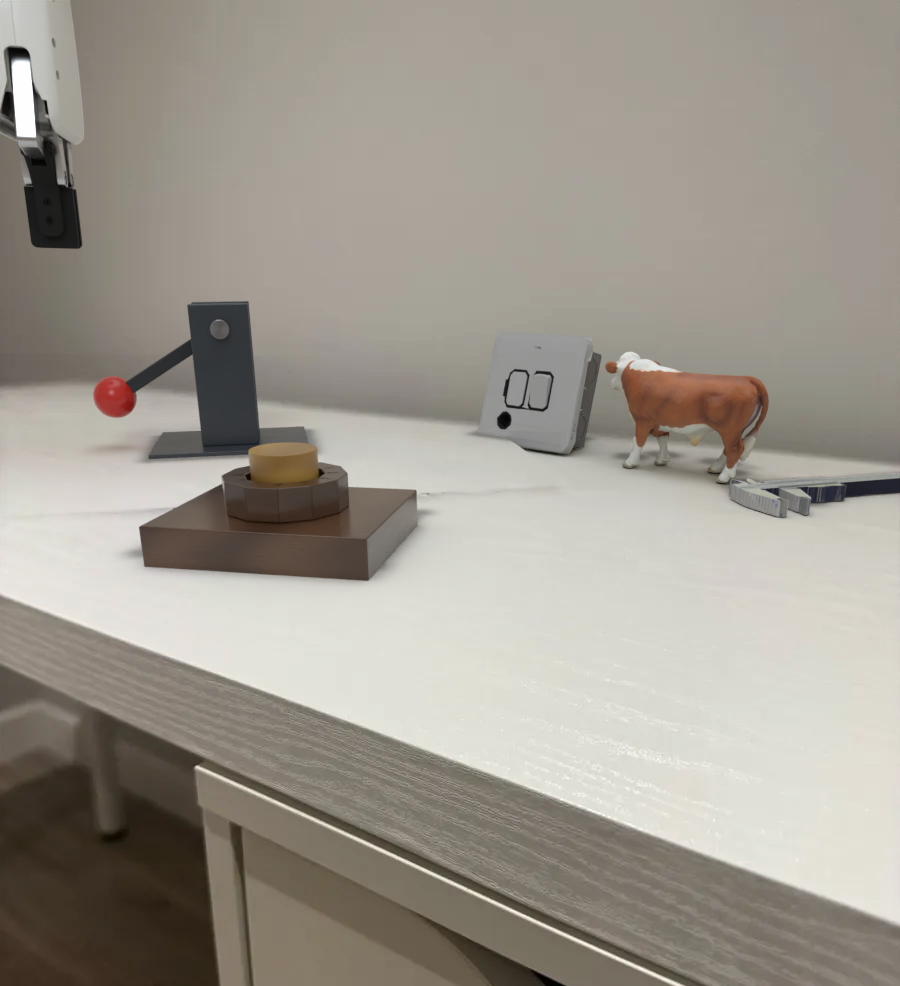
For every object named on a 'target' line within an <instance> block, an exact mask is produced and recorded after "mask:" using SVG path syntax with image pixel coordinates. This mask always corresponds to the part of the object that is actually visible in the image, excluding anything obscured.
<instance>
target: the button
mask: <svg viewBox="0 0 900 986" xmlns="http://www.w3.org/2000/svg"><path fill="white" fill-rule="evenodd" d="M248 453H249V455H248V462H249V463H248V464H249V466H250V475H251V481H254V482H258V483H291V482H302V481H307V480H311V479H316V478H319V467H318V462H319V453H318V447H317V446H316V445H314V444H311V443H308V444H307V443H295V442H286V443H271V444H264V445H259V446H255V447H253V448H251V449H249V451H248Z"/></svg>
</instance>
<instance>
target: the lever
mask: <svg viewBox="0 0 900 986" xmlns="http://www.w3.org/2000/svg"><path fill="white" fill-rule="evenodd" d="M191 356H193V354H192V345H191V338H190V339H187V340H186V341H185V342H183V343H182V344H181V345H179V346H178V347H176V348H175V349H173V350H171V351H170V352H168V353H167V354H165V355H164V356H162V357H161V358H159V359H158V360H156V361H154V362H153V363H152V364H150V365H149V366H147V367H146V368H143V370H141V371H139V372H138V373H137V374H135V375H134V376H132V377H131V378H129V379H125V378H124V377H121V376H118V375H117V376H116V375H110V376H105V377H103V378H101V379H100V380H99V381H98V382H97V383H96V384H95V386H94V389H93V392H92V397H93V398H92V399H93V402H94V405H95V407H96V408H97V409H98V411H99V412H100V413H102V414H103V415H105V416H107V417H109V418H112V419H119V418H120V419H121V418H124V417H126V416H128V415H130V414H131V413H132V412H133V411H134V410H135V408H136V406H137V401H138V396H137V392H138V391H139V390H141V389H143V388H144V387H146V386H147V385H149V384H151V382H153V381H155V380H156V379H158V378H159V377H161V376H162V375H164V374H166V373H167V372H169V371H170V370H171V369H174V367H177V365H179V364H181V363H182V362H184V361H185V360H187V359H188V358H189V357H191Z"/></svg>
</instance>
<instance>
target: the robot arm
mask: <svg viewBox="0 0 900 986" xmlns="http://www.w3.org/2000/svg"><path fill="white" fill-rule="evenodd" d="M78 58H79V57H78V50H77V43H76V34H75V22H74V19H73V12H72V4H71V0H0V135H2V136H4V137H6V138H8V139H9V140H12V141H14V142H16V145H17V152H18V156H19V163H20V168H21V174H22V180H23V183H24V185H23V192H24V199H25V200H24V201H25V207H26V214H27V222H28V229H29V237H30V243H31V245H32V246H33V247H34V248H40V249H64V250H65V249H67V250H68V249H69V250H79V249H81V248H82V247H83V239H82V237H83V236H82V228H81V219H80V210H79V201H78V194H77V189H76V188H75V174H74V163H73V152H72V145H73V146H78V145H80V144H81V143H82V142H83V141H84V139H85V119H84V106H83V95H82V86H81V85H82V84H81V76H80V68H79V60H78Z"/></svg>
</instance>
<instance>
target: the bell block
mask: <svg viewBox="0 0 900 986" xmlns="http://www.w3.org/2000/svg"><path fill="white" fill-rule="evenodd" d="M318 467H319V478H316V479H311V480H307V481H302V482H291V483H258V482H254V481H251V475H250V465H246V466H241V467H236V468H233V469H231V470H229V471H228V472H226V473H224V474H222V475H221V483H220V484H218V485H217V486H215V487H213V488H210V489H209V490H207V491H205V492H203V493H201V494H199V495H197V496H195V497H194V498H191V499H189V500H187V501H186V502H184V503H182V504H179V505H177V506H176V507H174V508H172V509H170V510H168V511H166V512H164V513H163V514H161V515H158V516H157V517H155V518H153V519H150V520H149V521H147V522H145V523H143V524H141V525H139V527H138V530H139V531H138V532H139V538H140V547H141V553H142V559H143V567H145V568H156V569H157V568H161V569H176V570H189V571H190V570H191V571H205V572H221V573H237V574H239V573H240V574H254V575H270V576H286V577H298V578H299V577H301V578H318V579H331V580H346V581H347V580H348V581H364V582H368V581H370V580H371V579H372V577H373V576H375V574H377V572H378V571H379V570H380V568H381V567H382V566H383V565H384V564H385V563H386V562H387V561H388V560H389V558H390V557H391V556H392V555H393V554H394V553H395V551H396V550H397V549H398V548H399V547H400V546H401V544H402V543H403V542H404V541H405V540H406V539H407V538H408V536H409V535H410V534H412V532H413V531H414V530H415V529H416V528H417V527H418V492H417V489H411V488H410V489H408V488H387V487H385V488H384V487H361V486H360V487H359V486H349V474H348V472H347V471H346V470H345V469H344V468H343V467H342V465H338V464H337V465H336V464H332V463H327V462H322V461H320V462H319V461H318Z"/></svg>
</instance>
